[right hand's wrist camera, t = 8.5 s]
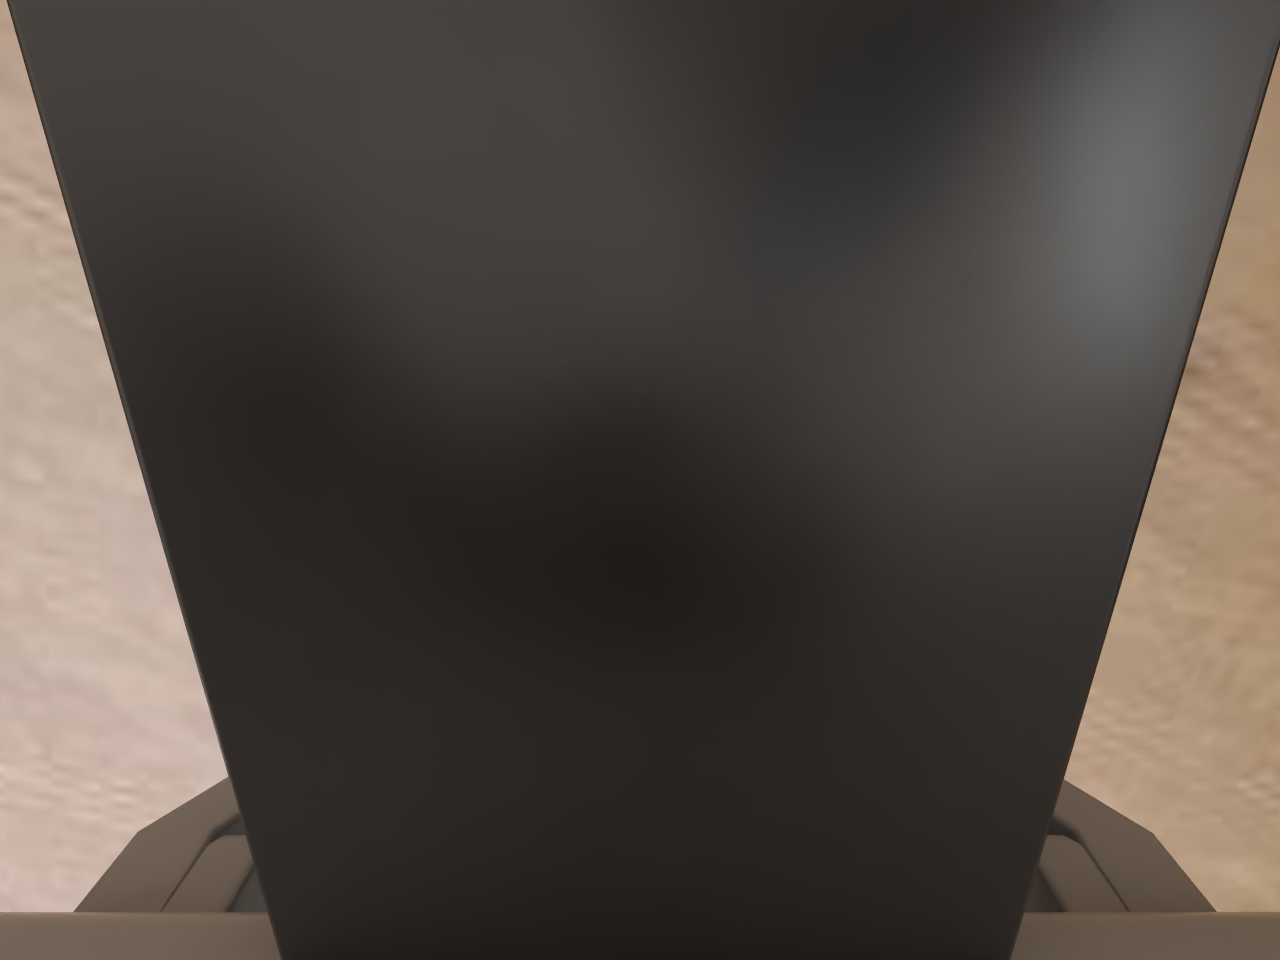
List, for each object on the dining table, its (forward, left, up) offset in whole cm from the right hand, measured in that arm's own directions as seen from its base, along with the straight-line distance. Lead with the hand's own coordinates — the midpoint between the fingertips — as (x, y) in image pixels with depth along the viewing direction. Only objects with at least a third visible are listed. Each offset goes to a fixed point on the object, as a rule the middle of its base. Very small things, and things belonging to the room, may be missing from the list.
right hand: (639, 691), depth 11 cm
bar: (0, +10, -3) cm, 10 cm away
